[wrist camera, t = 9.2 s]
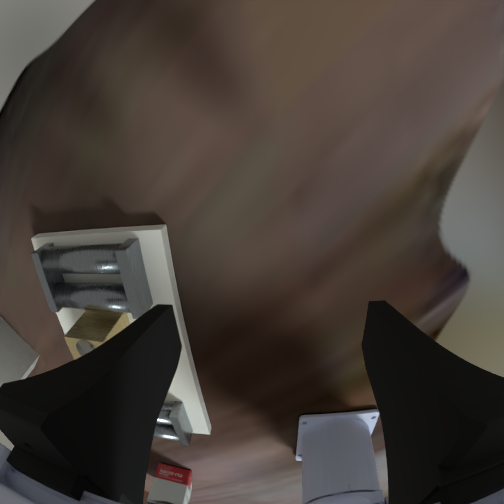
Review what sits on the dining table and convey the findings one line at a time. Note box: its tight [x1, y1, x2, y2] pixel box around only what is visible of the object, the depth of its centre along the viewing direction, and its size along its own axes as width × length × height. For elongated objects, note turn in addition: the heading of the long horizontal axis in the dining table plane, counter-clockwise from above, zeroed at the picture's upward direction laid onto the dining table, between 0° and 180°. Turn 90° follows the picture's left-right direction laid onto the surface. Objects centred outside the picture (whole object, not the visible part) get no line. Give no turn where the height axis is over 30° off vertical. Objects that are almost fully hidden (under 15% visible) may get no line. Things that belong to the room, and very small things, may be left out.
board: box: [31, 224, 211, 434], centre depth 24 cm, size 22×12×1 cm, turn 4°
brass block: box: [64, 310, 130, 359], centre depth 22 cm, size 9×4×4 cm, turn 4°
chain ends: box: [31, 238, 193, 445], centre depth 23 cm, size 21×9×2 cm, turn 4°
